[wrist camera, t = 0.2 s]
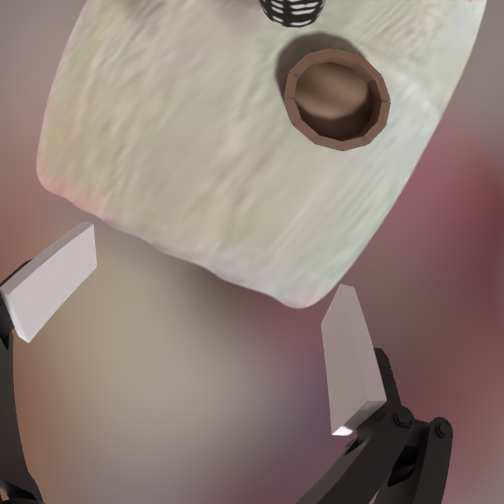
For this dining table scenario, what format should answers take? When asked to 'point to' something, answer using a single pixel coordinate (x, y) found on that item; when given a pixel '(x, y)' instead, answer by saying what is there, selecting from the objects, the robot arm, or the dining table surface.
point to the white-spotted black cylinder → (293, 11)
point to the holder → (336, 99)
